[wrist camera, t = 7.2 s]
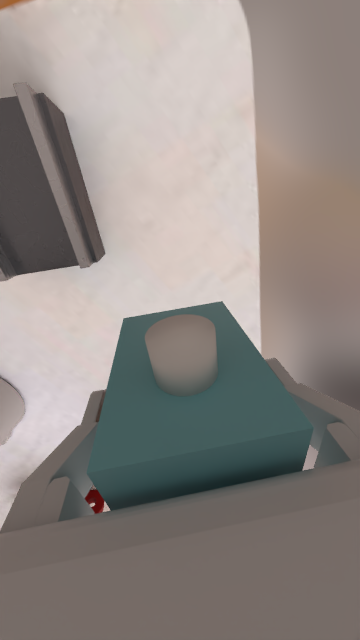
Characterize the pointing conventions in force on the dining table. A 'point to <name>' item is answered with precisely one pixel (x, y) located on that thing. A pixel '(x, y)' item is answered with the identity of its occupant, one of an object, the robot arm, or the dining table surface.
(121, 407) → the block
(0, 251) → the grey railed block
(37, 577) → the robot arm
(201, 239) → the dining table surface
